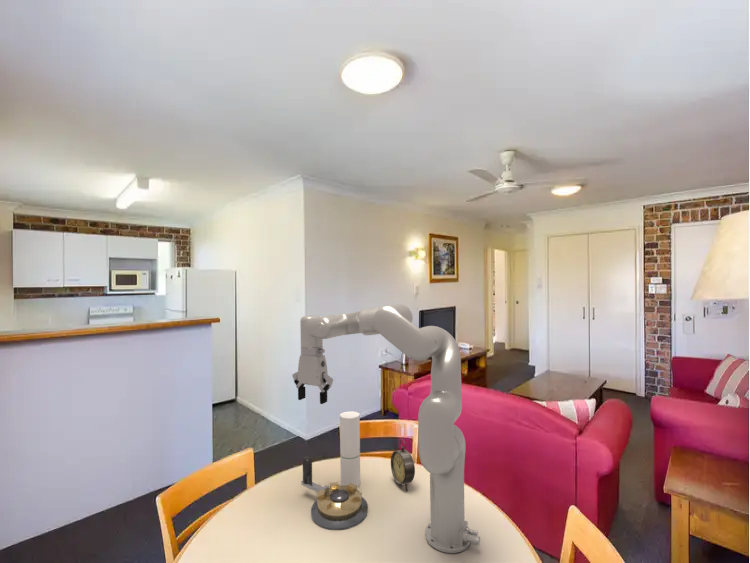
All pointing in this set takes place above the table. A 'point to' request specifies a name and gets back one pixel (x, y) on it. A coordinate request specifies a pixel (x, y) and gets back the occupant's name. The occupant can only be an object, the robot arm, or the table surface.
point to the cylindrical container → (350, 448)
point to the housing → (339, 523)
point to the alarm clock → (402, 466)
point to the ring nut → (333, 496)
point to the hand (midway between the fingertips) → (312, 400)
